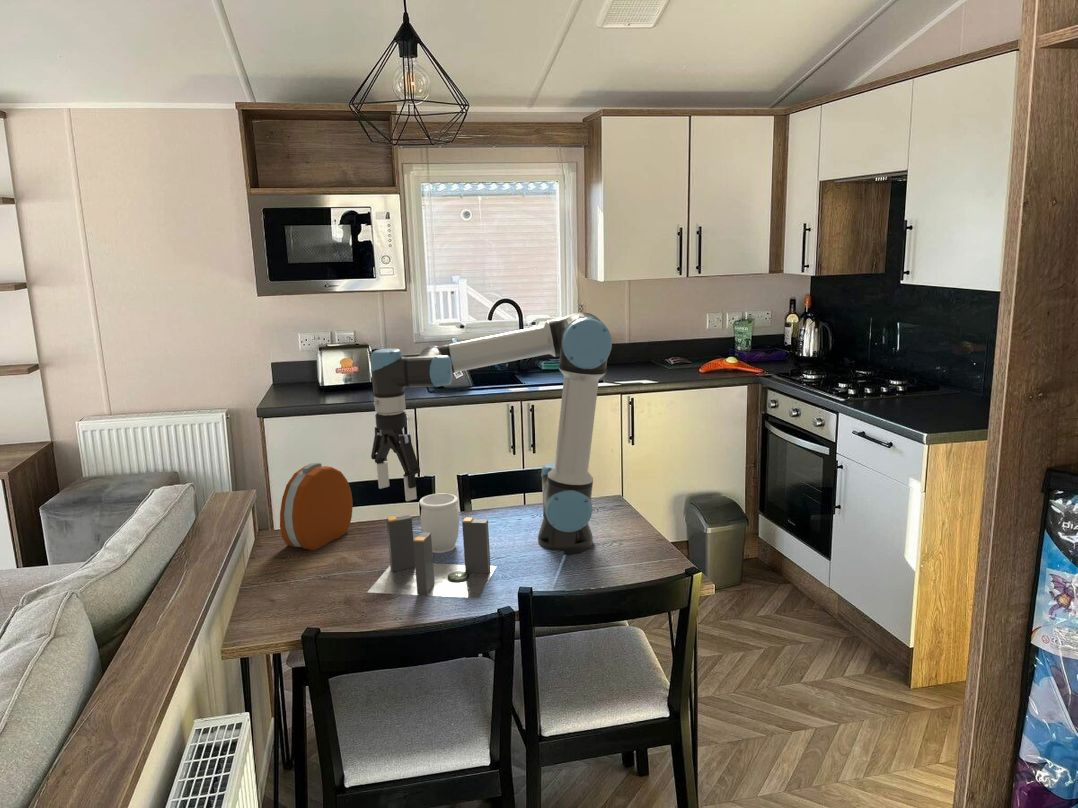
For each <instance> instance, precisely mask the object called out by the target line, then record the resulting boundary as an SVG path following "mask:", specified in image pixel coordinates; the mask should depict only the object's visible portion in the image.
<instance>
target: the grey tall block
mask: <svg viewBox="0 0 1078 808" xmlns="http://www.w3.org/2000/svg"><path fill="white" fill-rule="evenodd" d="M413 528H414V527H413V518H412V516H411V515H410V514H408V515H401V516H395V515H393V516H387V517H386V529H387V530H386V531H387V541H388V544H387V545H388V555H389V566H390V568H391V570H392V571H393V572H394V571H399V570H404V569H409V568H414V567H415V556H414V543H413V542H414V531H413Z"/></svg>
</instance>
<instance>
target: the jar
mask: <svg viewBox="0 0 1078 808" xmlns="http://www.w3.org/2000/svg"><path fill="white" fill-rule="evenodd" d="M458 502H459V498H458V496H457V495H455V494H452V493H447V492H446V493H442V492H440V493H432V494H428V495H424V496H423V497H421V498H420V500H419V506H420V507H421V510H420V525H421V531H422V532H430V533H431V540H432V553H435V554H436V553H437V554H439V553H440V554H441V553H448V552H451V551H453V550H454V549H456V547H457V545H456V544H457V542H458V538H459V530H460V529H459V528H460V512H459V509H458V506H457V504H458Z"/></svg>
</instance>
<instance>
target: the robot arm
mask: <svg viewBox="0 0 1078 808" xmlns="http://www.w3.org/2000/svg"><path fill="white" fill-rule="evenodd" d="M612 339H613V338H612V336H611V333H610V330H609V328H608V327H607V326H606V325H605V323H604V322H602V321H601V320H600V319H599V318H598V317H597V316H596V315H594V314H592V313H589V312H586V311H584V312H583V311H581V312H575V313H571V314H568V315H565V316H562V317H558V318H557V317H556V318H553V319H548V320H546V322H545V323H544V324H543V325H539V326H533V327H529V328H523V329H518V330H514V331H508V332H504V333H499V334H494V335H489V336H483V337H478V338H472V339H468V340H464V341H457V342H454V343H449V344H444V345H430V346H427V347H425V348H423V349H422V350H421V352H420V353H419V355H418V356H403V354H402V351H401V349H399V348H390V347H389V348H381V349H376V350H374V351H372V353H371V354H370V364H371V365H370V372H371V374H370V375H371V382H372V392H373V393H372V394H373V406H374V411H375V412H376V413H375V426H374V438H373V443H372V449H371V455H370V458H371V460H374V462H375V464H376V471H377V483H378V489H380V490H381V489H384V488H388V487H390V479H389V466H388V465H389V464H388V458H387V457H388V455H389V452H390V450H392V452H393V453H395V454H396V457H397V458H398V461H399V463H400V465H401V466H402V469H403V471H404V474H403V475H402V476H403V483H404V497H405V501H406V502H411V501H413V500H417V499H418V496H417V483H416V475H418V474H420V473H421V469H420V464H419V463H418V459H417V457H416V453H415V450H414V446H413V444H412V437H411V434H410V433H407V434H404V431H403V429H404V428H405V427H406V426H407V424H408V423H407V421H408V420H407V412H406V408H407V406H406V395H405V388H424V387H425V388H426V387H428V388H430V387H437V388H439V387H443V386H450V385H451V384H452V382H453V374H454V373H458V372H459V373H460V372H462V371H463V372H464V371H470V370H474V369H479V368H484V367H489V366H494V365H499V364H504V363H509V362H515V361H518V360H524V359H529V358H535V357H540V356H545V355H550V356H552V357H554V358H555V357H559V363H558V370H559V371H560V373H561V374H562V375H563V381H562V382H563V383H562V392H561V393H562V394H561V403H560V411H559V414H560V415H559V420H558V421H559V422H558V429H557V430H558V431H557V441H556V450H555V459H554V460H555V461H554V462H550V463H546V464H545V465H543V466H542V468H541V474H540V477H541V487H542V489H541V490H542V491H541V492H542V512H543V515H542V516H543V518H542V522H541V525H540V528H539V532H538V534H537V535H538V536H537V543H538V545H540V547H542V548H545V549H548V550H552V551H557V552H559V551H560V552H563V555H573V554H578V553H581V552H582V553H583V552H585V551H587V550H589V549H590V548H592V546H593V543H594V537H593V533H592V530H591V528H590V524H589V522H590V520H591V518H592V515H593V503H592V493H593V483H594V477H593V476H592V474H591V473H590V472H589V468H590V467H589V466H590V458H591V450H592V441H593V431H594V425H595V415H596V414H595V413H596V406H597V400H598V399H597V397H598V390H599V389H598V388H599V380H601V378H603V377H604V376H605V375H606V373H607V366H608V365H607V363H608V358H609V356H610V354H611V351H612V348H613V347H612V346H613V341H612Z"/></svg>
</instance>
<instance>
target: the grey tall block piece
mask: <svg viewBox="0 0 1078 808" xmlns="http://www.w3.org/2000/svg"><path fill="white" fill-rule="evenodd" d="M461 523H462V538H463V539H462V540H463V556H464V565H465V572H467V573H489V571H490V570H491V567H490V566H491V553H490V552H491V551H490V549H491V548H490V535H489V534H490V533H489V531H490V530H489V519H486V518H485V519H484V518H481V519H479V518H474V517H471V516H470V517H468V516H467V517H464V519H463V520H462V522H461Z"/></svg>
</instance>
